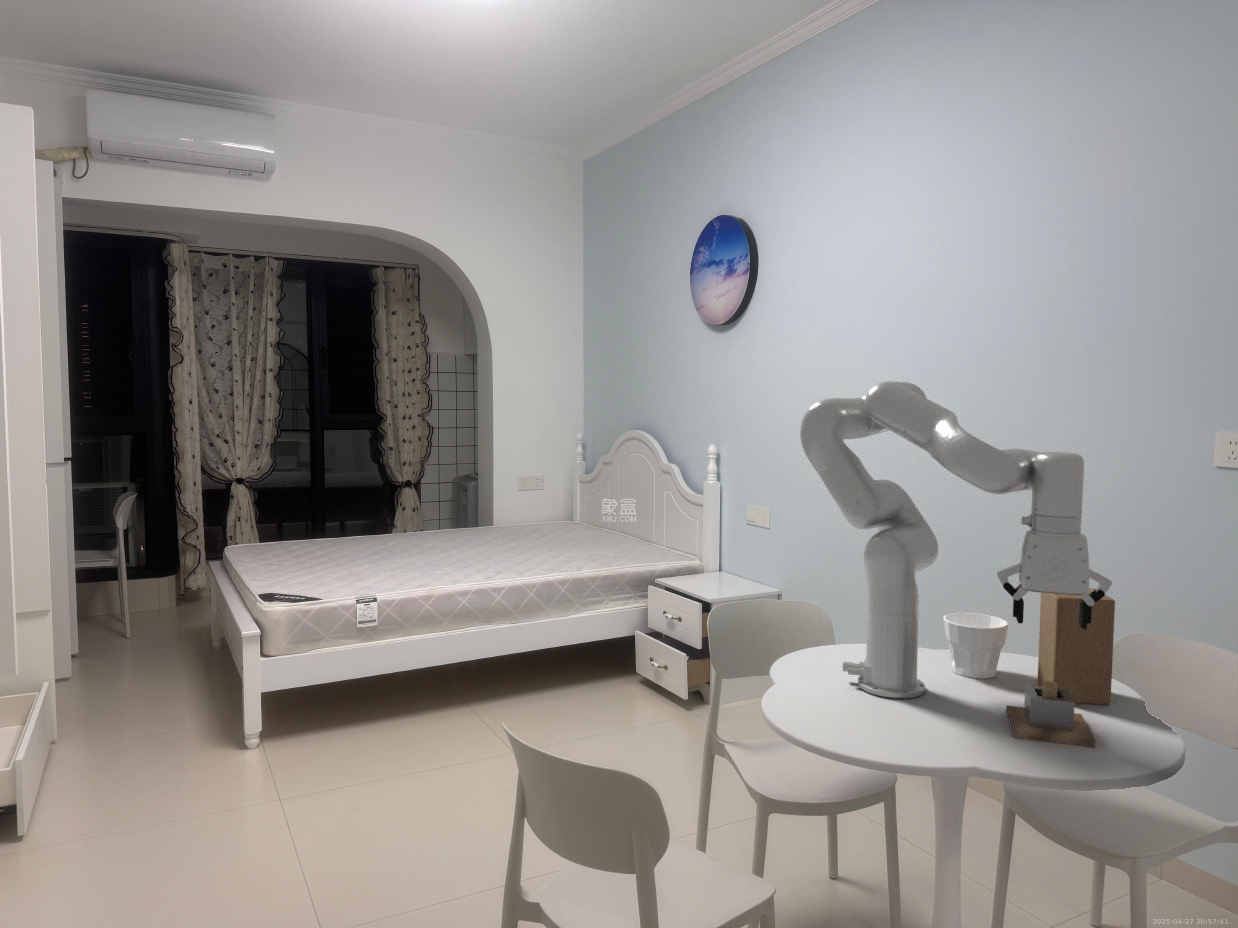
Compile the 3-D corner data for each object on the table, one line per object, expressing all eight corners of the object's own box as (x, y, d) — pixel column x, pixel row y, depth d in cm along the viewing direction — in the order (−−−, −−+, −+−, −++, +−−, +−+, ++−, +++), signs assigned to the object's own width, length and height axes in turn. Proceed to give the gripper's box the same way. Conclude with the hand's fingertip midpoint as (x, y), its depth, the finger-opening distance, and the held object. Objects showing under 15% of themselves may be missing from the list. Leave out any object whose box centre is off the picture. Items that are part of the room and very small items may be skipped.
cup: (936, 660, 177) (937, 611, 176) (997, 664, 174) (999, 613, 173) (948, 679, 164) (949, 626, 164) (1014, 683, 162) (1016, 629, 161)
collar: (1029, 726, 137) (1030, 697, 137) (1024, 712, 144) (1025, 684, 143) (1073, 731, 135) (1074, 702, 135) (1066, 717, 141) (1067, 689, 141)
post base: (1013, 736, 136) (1015, 690, 135) (1006, 711, 147) (1007, 668, 147) (1095, 747, 132) (1097, 699, 131) (1080, 720, 143) (1082, 676, 143)
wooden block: (1111, 705, 150) (1116, 599, 149) (1052, 702, 152) (1057, 597, 151) (1091, 687, 160) (1095, 587, 158) (1036, 684, 162) (1040, 585, 160)
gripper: (1001, 525, 137) (997, 624, 138) (1119, 531, 131) (1113, 635, 132) (997, 519, 144) (993, 614, 145) (1109, 525, 138) (1103, 623, 139)
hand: (1050, 624), depth 139 cm, fingers open, 9 cm apart
